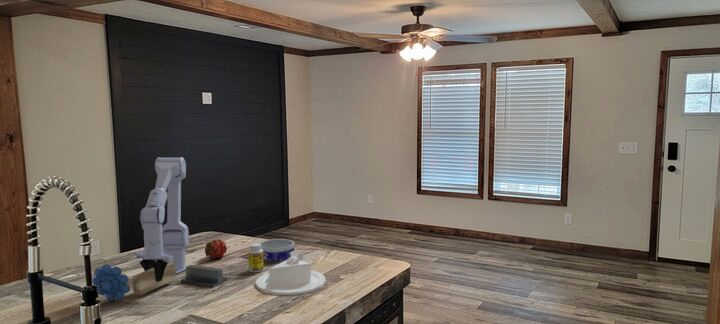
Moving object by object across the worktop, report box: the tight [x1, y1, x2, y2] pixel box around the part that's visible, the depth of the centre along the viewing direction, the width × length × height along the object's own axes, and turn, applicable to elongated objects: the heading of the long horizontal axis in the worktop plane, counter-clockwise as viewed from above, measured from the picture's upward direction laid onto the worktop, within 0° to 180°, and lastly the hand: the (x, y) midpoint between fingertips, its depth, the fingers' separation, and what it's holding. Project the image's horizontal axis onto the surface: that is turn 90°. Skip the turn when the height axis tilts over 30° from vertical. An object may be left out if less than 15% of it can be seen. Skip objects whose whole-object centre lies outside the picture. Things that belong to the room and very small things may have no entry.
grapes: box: [91, 264, 131, 302], centre depth 150 cm, size 12×7×12 cm, turn 92°
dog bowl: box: [258, 238, 295, 263], centre depth 200 cm, size 15×15×6 cm
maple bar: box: [132, 262, 176, 296], centre depth 160 cm, size 3×16×6 cm, turn 160°
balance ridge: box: [180, 264, 228, 288], centre depth 169 cm, size 14×8×5 cm, turn 70°
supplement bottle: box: [248, 243, 264, 273], centre depth 181 cm, size 6×6×10 cm
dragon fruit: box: [204, 238, 228, 260], centre depth 198 cm, size 8×8×12 cm
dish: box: [255, 249, 326, 296], centre depth 168 cm, size 25×25×11 cm
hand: (155, 280), depth 160 cm, fingers closed on maple bar, 3 cm apart
